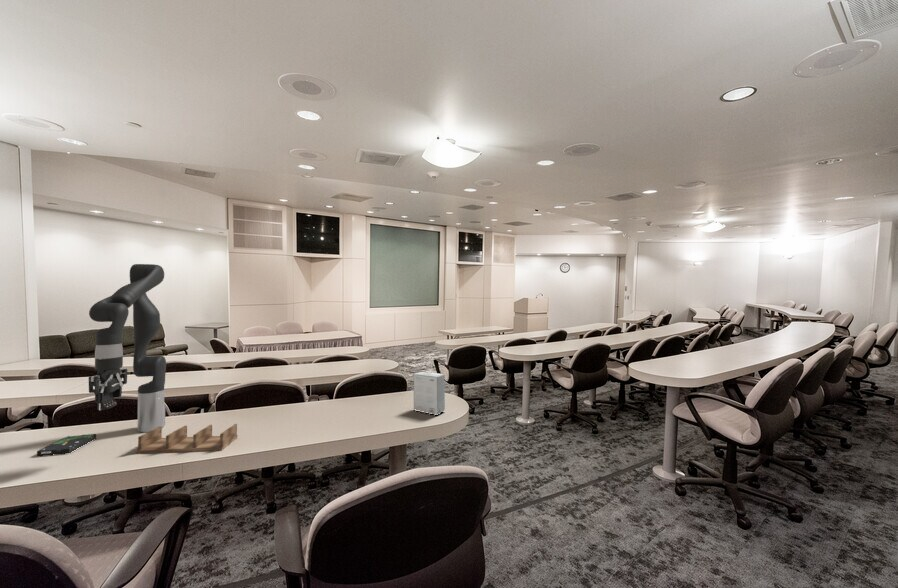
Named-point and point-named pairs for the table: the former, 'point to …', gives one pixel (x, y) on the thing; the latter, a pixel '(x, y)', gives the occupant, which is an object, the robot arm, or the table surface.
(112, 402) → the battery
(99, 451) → the table surface
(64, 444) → the disk drive
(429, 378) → the hard drive box
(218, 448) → the divider rack
